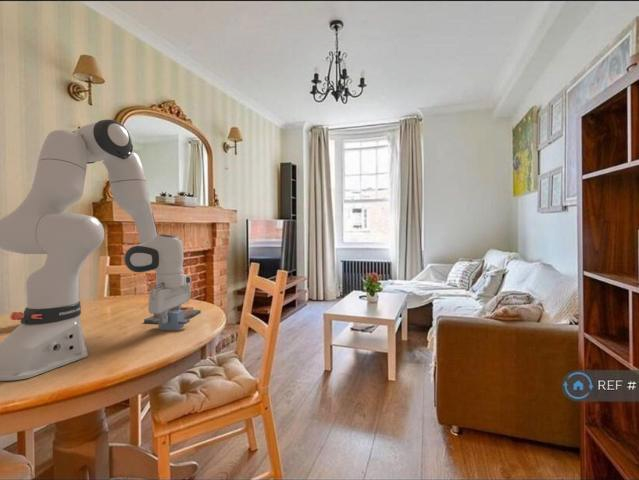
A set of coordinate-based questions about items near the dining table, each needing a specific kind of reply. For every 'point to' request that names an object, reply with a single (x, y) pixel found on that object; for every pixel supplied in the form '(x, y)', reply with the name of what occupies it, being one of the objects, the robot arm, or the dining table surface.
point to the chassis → (187, 310)
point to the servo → (172, 320)
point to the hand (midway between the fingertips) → (171, 320)
